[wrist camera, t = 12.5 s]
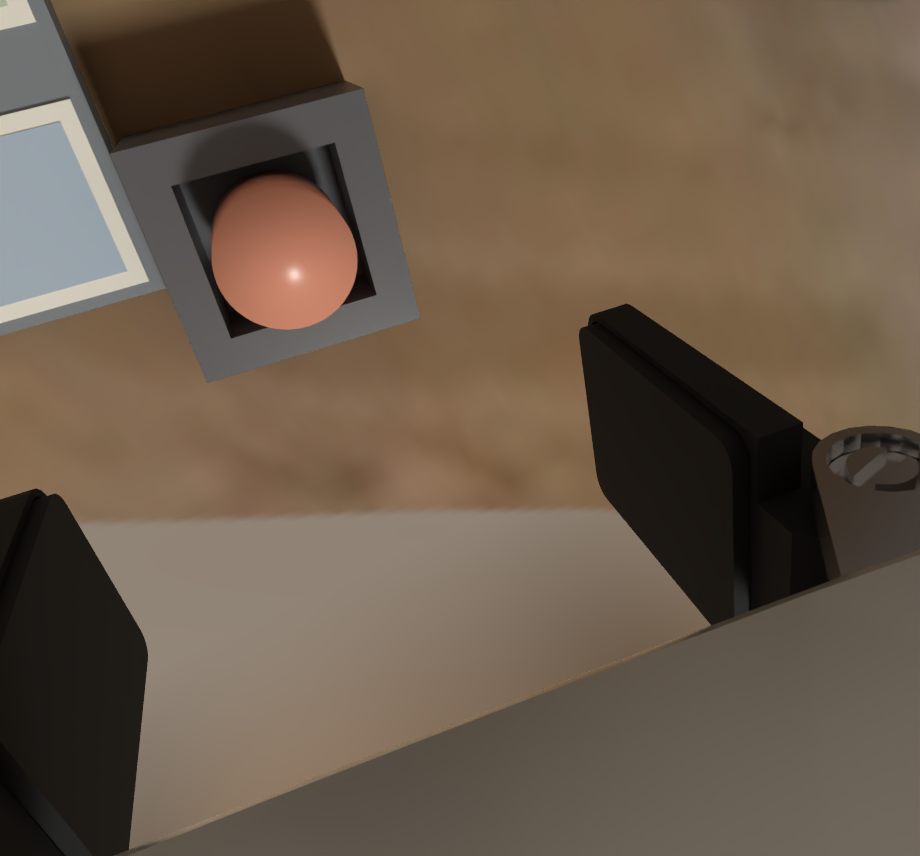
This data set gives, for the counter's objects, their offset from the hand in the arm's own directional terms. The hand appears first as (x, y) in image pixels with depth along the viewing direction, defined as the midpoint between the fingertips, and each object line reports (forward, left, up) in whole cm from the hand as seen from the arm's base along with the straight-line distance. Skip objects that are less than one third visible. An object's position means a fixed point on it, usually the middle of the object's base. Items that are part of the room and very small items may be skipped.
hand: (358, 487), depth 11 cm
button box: (0, 0, -18) cm, 18 cm away
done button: (0, 0, -15) cm, 15 cm away
